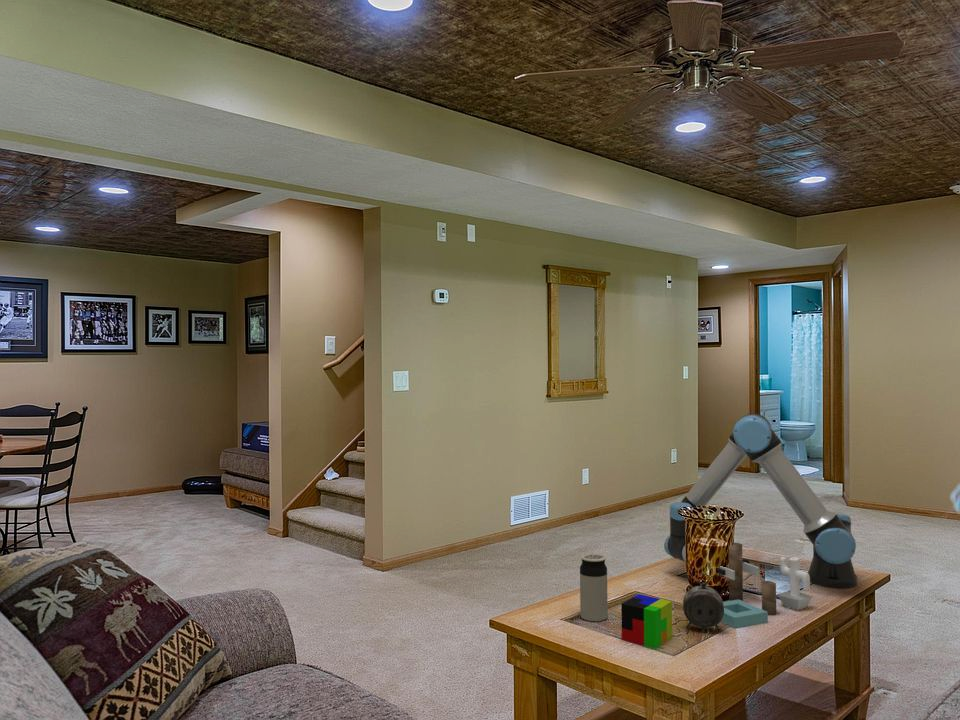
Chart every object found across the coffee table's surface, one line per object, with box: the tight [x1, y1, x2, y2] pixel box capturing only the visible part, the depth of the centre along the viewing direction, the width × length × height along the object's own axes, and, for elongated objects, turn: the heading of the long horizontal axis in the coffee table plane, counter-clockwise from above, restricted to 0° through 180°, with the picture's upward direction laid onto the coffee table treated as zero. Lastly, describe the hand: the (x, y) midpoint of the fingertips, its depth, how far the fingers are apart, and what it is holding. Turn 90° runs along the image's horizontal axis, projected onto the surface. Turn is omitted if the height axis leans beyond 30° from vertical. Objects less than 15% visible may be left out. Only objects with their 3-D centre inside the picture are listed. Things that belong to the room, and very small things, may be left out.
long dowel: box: [728, 542, 744, 601], centre depth 229 cm, size 4×4×18 cm
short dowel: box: [761, 580, 777, 616], centre depth 218 cm, size 4×4×9 cm
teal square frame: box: [720, 600, 769, 629], centre depth 214 cm, size 12×12×3 cm
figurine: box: [776, 556, 814, 611], centre depth 223 cm, size 7×9×15 cm
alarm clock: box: [682, 572, 724, 634], centre depth 205 cm, size 11×5×16 cm, turn 74°
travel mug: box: [579, 553, 609, 623], centre depth 216 cm, size 8×8×18 cm
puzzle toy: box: [620, 593, 673, 650], centre depth 199 cm, size 10×10×10 cm
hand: (746, 573), depth 225 cm, fingers open, 9 cm apart
